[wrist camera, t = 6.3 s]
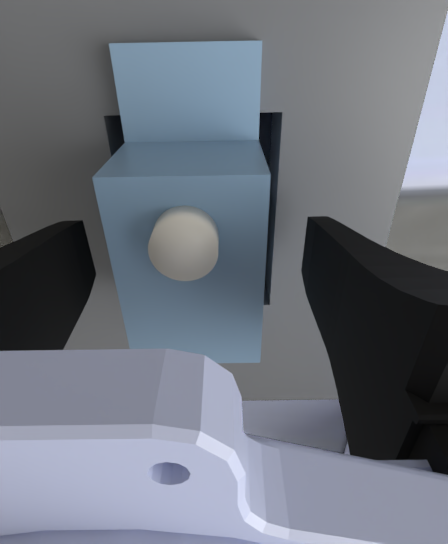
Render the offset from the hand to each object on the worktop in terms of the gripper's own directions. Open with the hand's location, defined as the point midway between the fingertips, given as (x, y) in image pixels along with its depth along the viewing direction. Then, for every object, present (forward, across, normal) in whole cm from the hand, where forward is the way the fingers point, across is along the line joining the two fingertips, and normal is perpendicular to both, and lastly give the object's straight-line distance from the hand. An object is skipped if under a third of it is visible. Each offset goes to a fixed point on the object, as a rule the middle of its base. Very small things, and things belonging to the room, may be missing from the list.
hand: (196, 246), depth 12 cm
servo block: (+4, 0, 0) cm, 4 cm away
